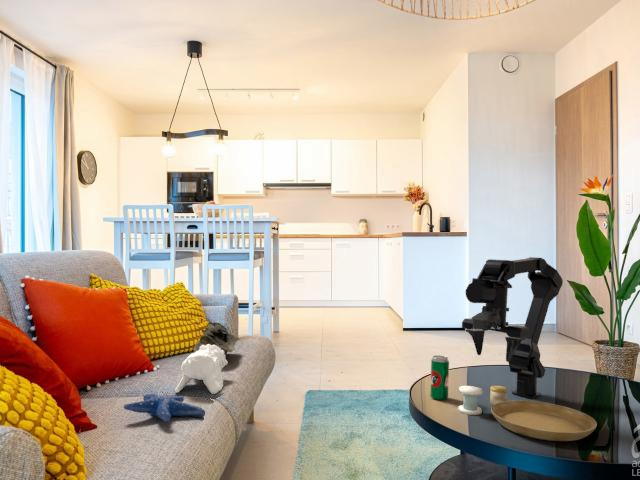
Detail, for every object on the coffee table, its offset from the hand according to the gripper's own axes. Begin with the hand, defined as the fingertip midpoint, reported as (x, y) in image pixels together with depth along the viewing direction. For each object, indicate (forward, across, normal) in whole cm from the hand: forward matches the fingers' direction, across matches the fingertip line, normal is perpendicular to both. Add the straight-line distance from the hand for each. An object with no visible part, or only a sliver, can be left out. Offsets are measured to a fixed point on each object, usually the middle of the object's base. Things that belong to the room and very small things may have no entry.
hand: (493, 358), depth 142 cm
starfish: (+17, -39, -79) cm, 90 cm away
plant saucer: (+14, +18, -5) cm, 23 cm away
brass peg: (+13, +1, +2) cm, 13 cm away
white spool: (+13, +1, -11) cm, 17 cm away
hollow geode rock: (+16, -89, -41) cm, 99 cm away
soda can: (+14, -11, -8) cm, 20 cm away
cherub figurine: (+16, -59, -60) cm, 86 cm away
